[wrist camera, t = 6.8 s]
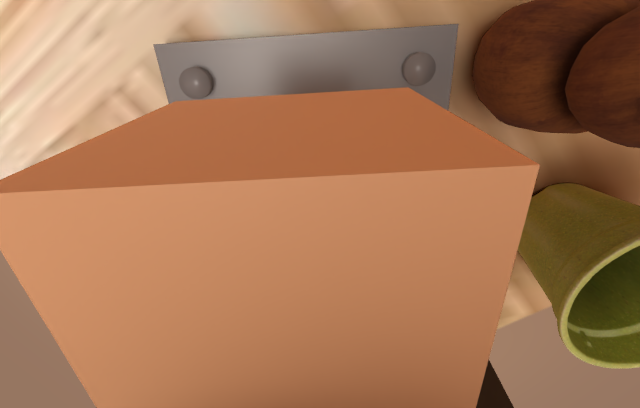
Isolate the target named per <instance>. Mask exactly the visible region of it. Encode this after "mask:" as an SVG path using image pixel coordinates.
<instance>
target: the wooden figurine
mask: <svg viewBox="0 0 640 408" xmlns="http://www.w3.org/2000/svg"><path fill="white" fill-rule="evenodd" d="M472 77H473V81H474V85H475V89H476V93H477V95H478V98H479V99H480V101H481V102H482V103H483V104H484V105H485V106H486V107H487V108H488V109H489V110H490V111H491V113H492V114H493V115H494V116H495V117H496V118H497V119H498V120H500V121H502V122H503V123H505V124H508V125H511V126H515V127H519V128H524V129H529V130H534V131H538V132H550V133H582V132H587V131H589V132H591V133H593V134H595V135H597V136H599V137H602V138H604V139H606V140H609V141H611V142H614V143H617V144H620V145H623V146H627V147H637V148H640V0H534V1H531V2H528V3H525V4H522V5H519V6H516V7H513V8H511V9H510V10H508V11H507V12H505V13H504V14H503V15H502V16H501V17H500V18H499V19H498V20H497V21H496V22H495V23H494V24H493V26H492V27H491V28H490V29H489V30H488V31H487V32H486V33H485V35H484V36H483V37H482V40H481V42H480V45H479V47H478V50H477V52H476V55H475V59H474V66H473V74H472Z"/></svg>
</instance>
